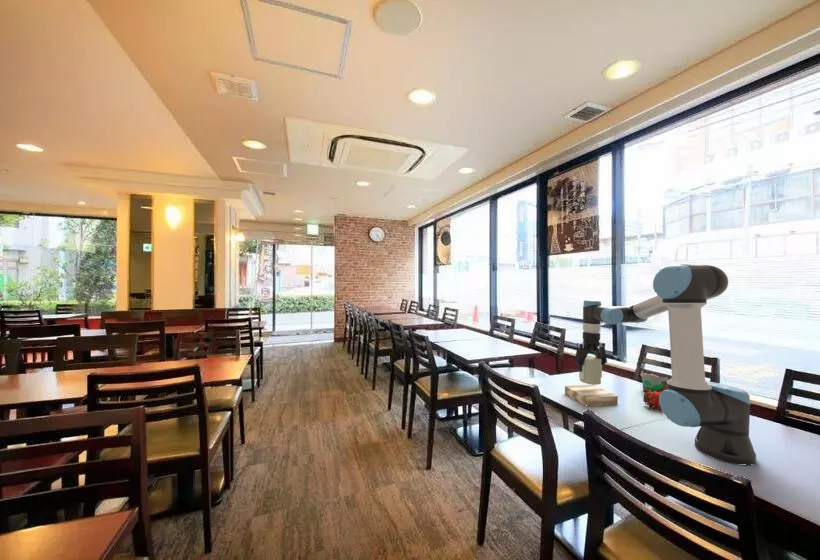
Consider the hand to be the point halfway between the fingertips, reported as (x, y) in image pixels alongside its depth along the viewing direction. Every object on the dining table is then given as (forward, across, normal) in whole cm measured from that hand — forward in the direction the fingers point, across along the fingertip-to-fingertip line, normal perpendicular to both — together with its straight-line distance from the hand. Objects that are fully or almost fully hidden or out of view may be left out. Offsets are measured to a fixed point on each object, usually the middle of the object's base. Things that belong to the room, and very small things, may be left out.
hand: (590, 377), depth 159 cm
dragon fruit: (+11, -23, +14) cm, 29 cm away
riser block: (+10, 0, 0) cm, 10 cm away
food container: (+11, -36, -1) cm, 38 cm away
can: (+2, 0, 0) cm, 2 cm away
